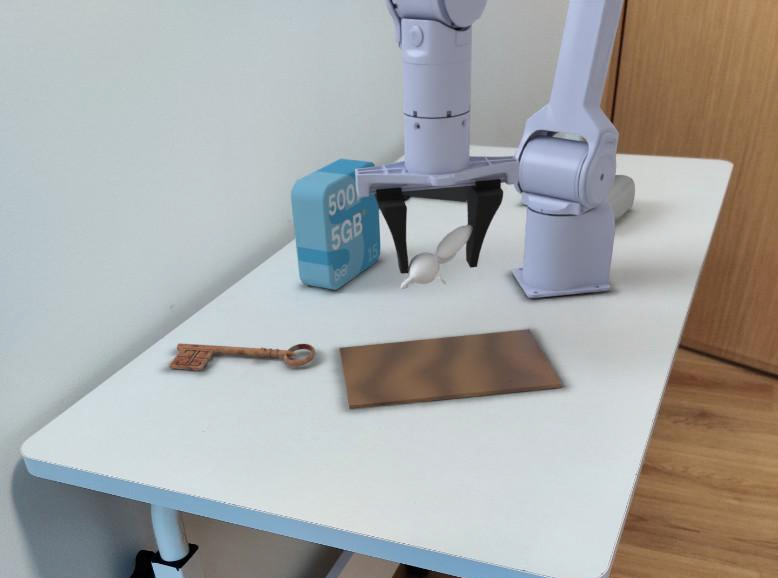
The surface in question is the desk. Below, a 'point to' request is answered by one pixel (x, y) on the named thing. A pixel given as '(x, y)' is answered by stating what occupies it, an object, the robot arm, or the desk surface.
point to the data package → (334, 225)
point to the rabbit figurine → (436, 257)
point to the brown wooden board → (445, 368)
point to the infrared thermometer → (621, 195)
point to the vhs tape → (440, 193)
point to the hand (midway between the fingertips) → (437, 266)
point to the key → (202, 357)
